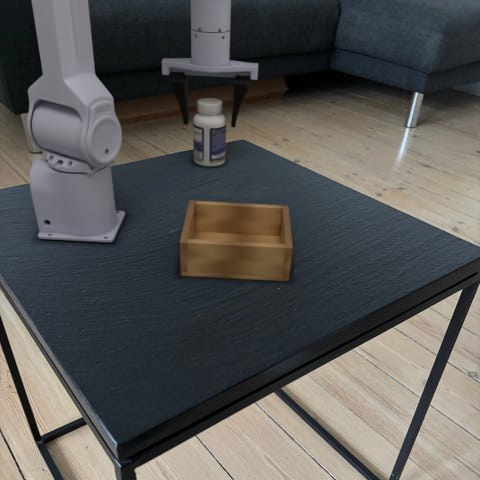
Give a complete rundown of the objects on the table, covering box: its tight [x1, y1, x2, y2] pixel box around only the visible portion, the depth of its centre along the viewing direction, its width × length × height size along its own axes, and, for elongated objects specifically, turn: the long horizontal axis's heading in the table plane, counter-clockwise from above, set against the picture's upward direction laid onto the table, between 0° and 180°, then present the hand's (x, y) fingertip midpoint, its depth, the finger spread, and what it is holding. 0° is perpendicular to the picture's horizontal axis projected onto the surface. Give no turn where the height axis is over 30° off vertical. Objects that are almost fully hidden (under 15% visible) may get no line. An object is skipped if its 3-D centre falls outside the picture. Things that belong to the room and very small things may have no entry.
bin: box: [179, 199, 294, 282], centre depth 63 cm, size 13×11×4 cm
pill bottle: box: [192, 97, 227, 168], centre depth 85 cm, size 5×5×10 cm
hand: (209, 124), depth 84 cm, fingers open, 7 cm apart
